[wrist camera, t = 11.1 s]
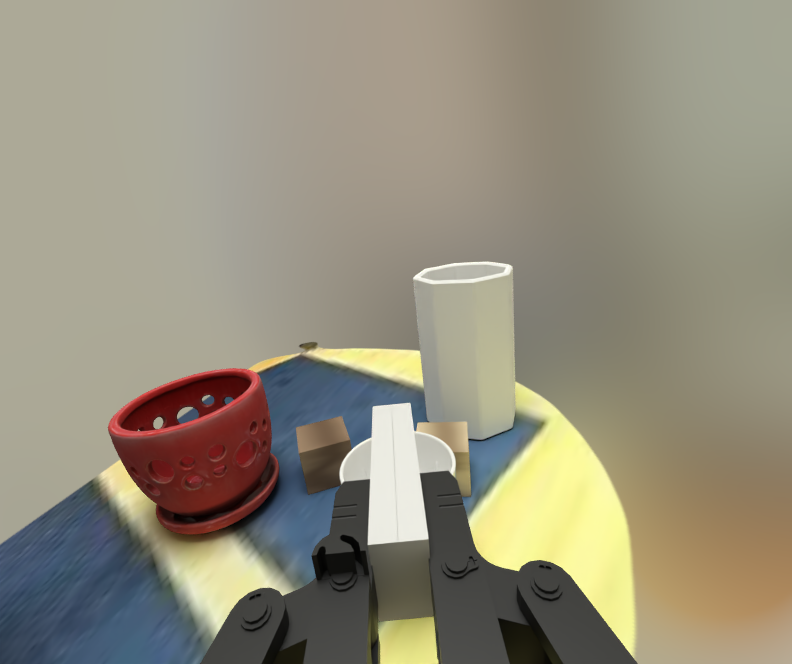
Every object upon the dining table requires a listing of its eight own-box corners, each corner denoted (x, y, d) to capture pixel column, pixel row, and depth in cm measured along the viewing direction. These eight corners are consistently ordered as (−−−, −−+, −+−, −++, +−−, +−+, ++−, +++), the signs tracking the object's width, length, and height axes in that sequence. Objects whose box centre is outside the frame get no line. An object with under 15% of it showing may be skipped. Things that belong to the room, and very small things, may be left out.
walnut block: (308, 495, 40) (298, 453, 38) (304, 466, 44) (296, 427, 43) (357, 481, 41) (349, 439, 39) (348, 454, 46) (341, 416, 44)
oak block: (418, 496, 38) (412, 452, 36) (422, 463, 42) (417, 422, 41) (471, 497, 37) (468, 452, 35) (469, 463, 42) (467, 421, 40)
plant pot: (281, 446, 49) (260, 355, 45) (290, 521, 37) (261, 406, 33) (164, 478, 45) (130, 383, 41) (131, 574, 33) (78, 452, 29)
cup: (432, 447, 45) (417, 286, 39) (423, 400, 55) (409, 268, 50) (531, 435, 45) (529, 273, 39) (502, 390, 55) (498, 257, 50)
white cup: (354, 546, 33) (334, 443, 30) (443, 521, 34) (434, 421, 31) (369, 641, 26) (345, 519, 23) (482, 606, 27) (474, 486, 24)
